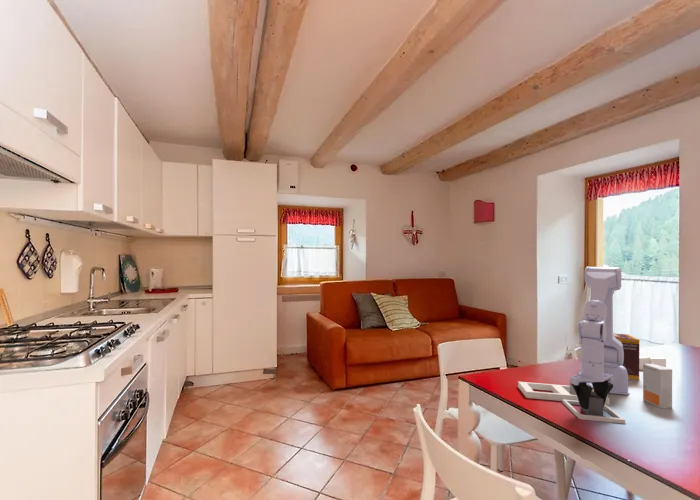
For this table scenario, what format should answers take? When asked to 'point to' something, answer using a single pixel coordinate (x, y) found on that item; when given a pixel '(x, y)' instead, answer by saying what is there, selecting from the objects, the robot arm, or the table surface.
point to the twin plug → (573, 390)
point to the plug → (594, 405)
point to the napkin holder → (651, 361)
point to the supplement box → (630, 354)
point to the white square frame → (597, 418)
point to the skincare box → (657, 385)
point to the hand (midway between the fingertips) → (591, 406)
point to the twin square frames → (558, 390)
